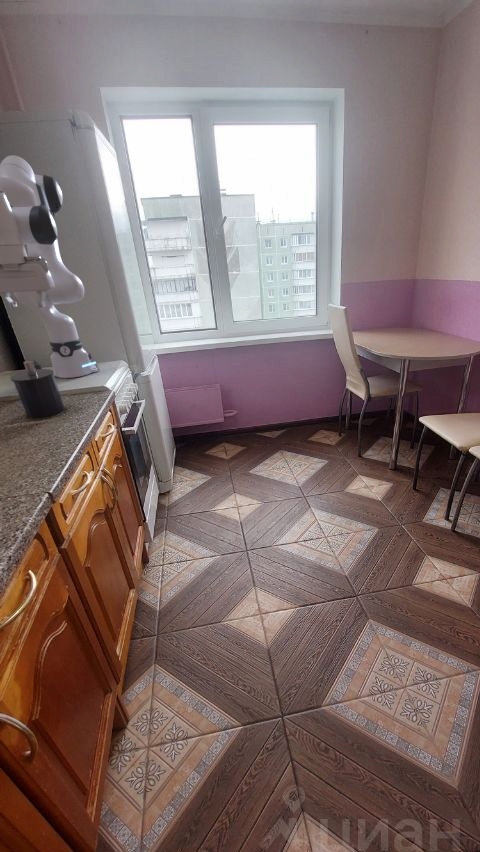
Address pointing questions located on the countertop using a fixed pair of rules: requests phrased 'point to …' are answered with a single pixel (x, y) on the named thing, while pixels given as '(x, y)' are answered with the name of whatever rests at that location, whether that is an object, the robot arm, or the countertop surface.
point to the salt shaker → (37, 365)
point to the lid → (31, 373)
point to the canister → (40, 397)
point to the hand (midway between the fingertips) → (28, 307)
